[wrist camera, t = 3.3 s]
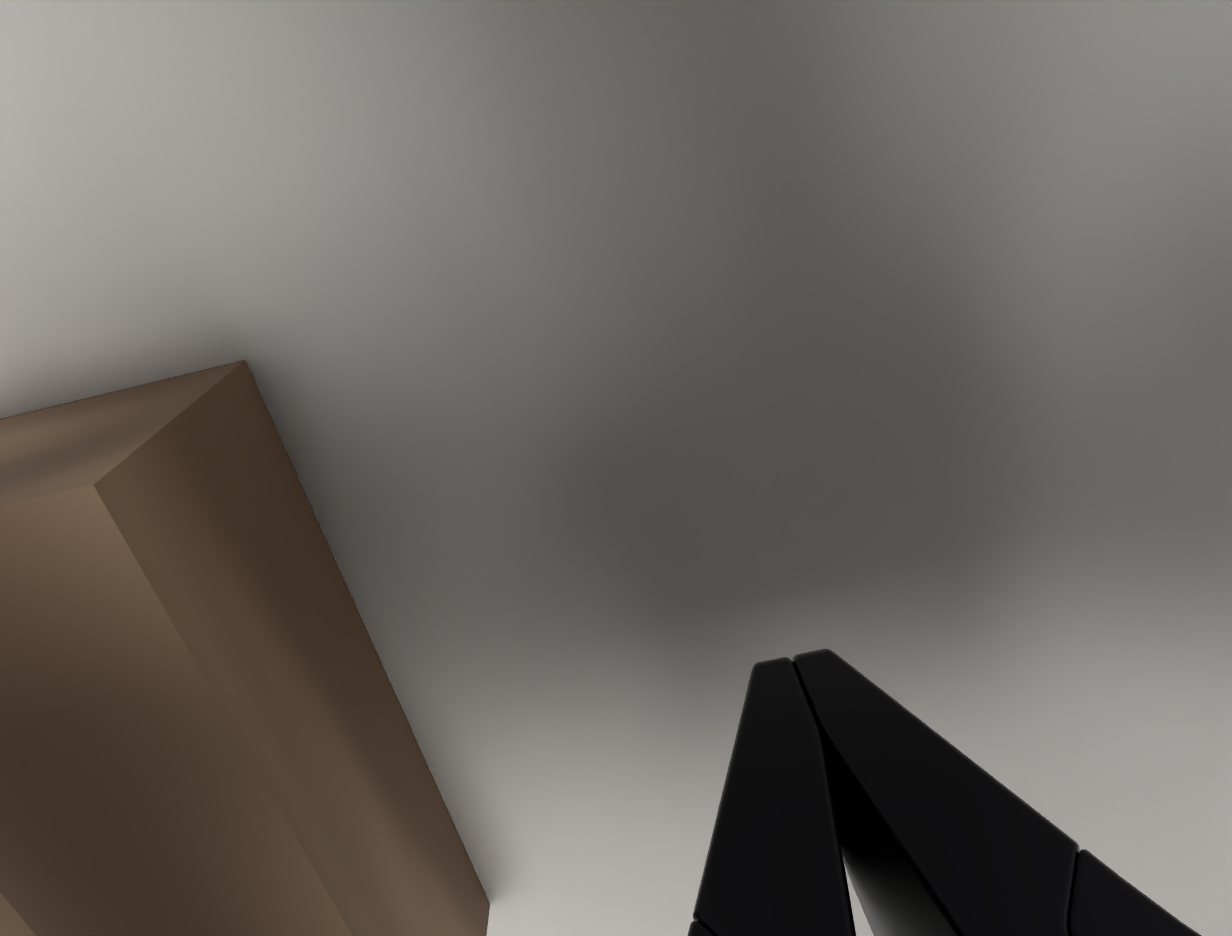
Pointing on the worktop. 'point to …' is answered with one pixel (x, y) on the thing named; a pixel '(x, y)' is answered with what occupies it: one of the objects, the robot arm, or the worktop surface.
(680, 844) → the worktop surface
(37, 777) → the t block
